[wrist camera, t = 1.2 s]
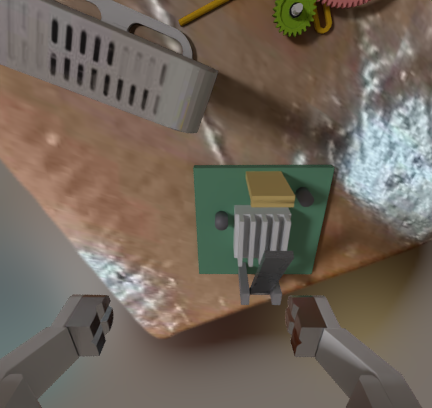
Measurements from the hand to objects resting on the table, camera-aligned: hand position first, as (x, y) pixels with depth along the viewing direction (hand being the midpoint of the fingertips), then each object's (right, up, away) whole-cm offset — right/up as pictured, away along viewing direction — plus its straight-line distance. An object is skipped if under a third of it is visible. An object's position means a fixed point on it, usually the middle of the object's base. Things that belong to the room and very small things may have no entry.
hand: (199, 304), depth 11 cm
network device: (-12, +23, +20) cm, 33 cm away
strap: (+7, -5, +23) cm, 24 cm away
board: (+8, +1, +31) cm, 32 cm away
